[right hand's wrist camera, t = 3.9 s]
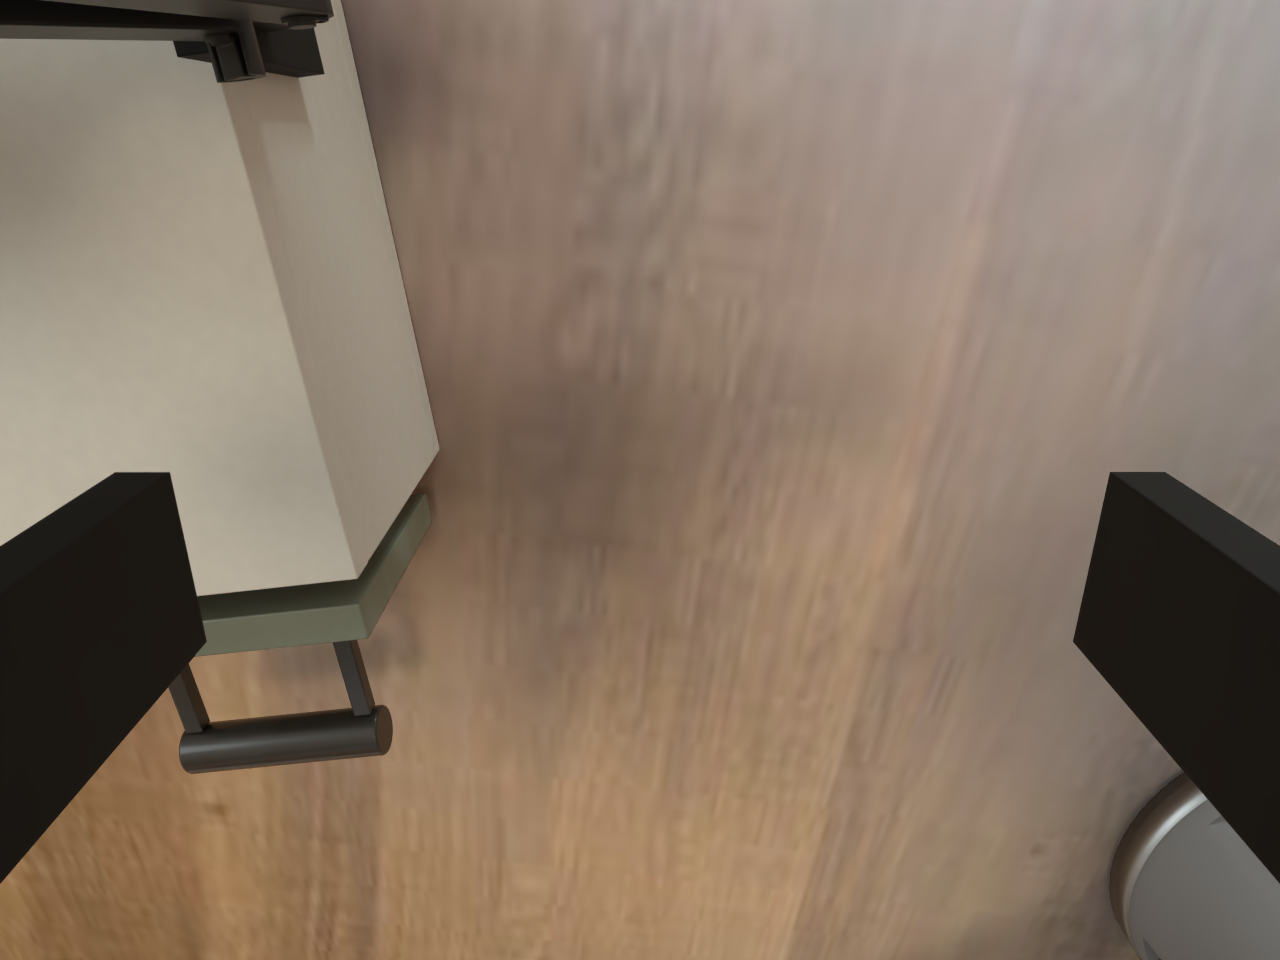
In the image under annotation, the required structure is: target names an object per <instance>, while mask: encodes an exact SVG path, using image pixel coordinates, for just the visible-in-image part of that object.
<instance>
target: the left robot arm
mask: <svg viewBox="0 0 1280 960" xmlns="http://www.w3.org/2000/svg"><path fill="white" fill-rule="evenodd" d="M333 16H334V13H333V8H332V4H331V0H0V39H69V40H144V41H173V43H174V47H175V50H176V54H177V57H180V58H186V59H192V60H197V61H203V62H209V63H212V66H213V69H214V73H215V77H216V80H217V83H227V82H239V81H247V80H254V79H259V78H263V77H266V73H265V72H267V73H273V74H279V75H285V76H290V77H296V78H300V77H308V76H315V75H322V74H325V73H324V69H323V65H322V60H321V56H320V52H319V47H318V43H317V39H316V34H315V30H314V27H317V25H316V24H319V23H325V22H327V21H329V18H332V17H333Z"/></svg>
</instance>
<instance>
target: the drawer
mask: <svg viewBox="0 0 1280 960" xmlns="http://www.w3.org/2000/svg"><path fill="white" fill-rule="evenodd" d="M431 522H432V517H431V513H430V509H429V504H428V500H427V496H426V494H418V495H410V497H409V499H408V500H407V502H406V503H405V505H404V506H403V508H402V509H401V511H400V513H399V514H398V516H397V517H396V519H395V520H394V522H393V523H392V525H391V527H390V528H389V530H388V531H387V533H386V534H385V536H384V537H383V539H382V541H381V542H380V544H379V545H378V547H377V548H376V550H375V551H374V553H373V555H372V556H371V558H370V559H369V560H368V563H367V565H366V566H365V568H364V570H363V571H362V573H361V574H360V576H359V577H358V578H357V579H351V580H342V581H333V582H323V583H314V584H305V585H296V586H286V587H277V588H268V589H259V590H249V591H240V592H231V593H222V594H212V595H203V596H197V598H198V603H199V608H200V612H201V617H202V621H203V626H204V631H205V635H206V640H207V642H206V643H205V644H204V646H203V647H202V648H201V649H200V650H199V651H198V653H197V654H196V655H195V656H194V657H197V656H206V655H216V654H225V653H235V652H244V651H254V650H263V649H273V648H282V647H292V646H301V645H311V644H320V643H330V642H333V645H334V648H335V652H336V655H337V659H338V662H339V665H340V669H341V672H342V675H343V679H344V682H345V686H346V689H347V692H348V696H349V699H350V703H351V706H352V708H346V709H336V710H326V711H317V712H307V713H297V714H287V715H277V716H267V717H257V718H247V719H238V720H228V721H218V722H210V720H209V717H208V714H207V712H206V709H205V706H204V704H203V701H202V698H201V696H200V693H199V690H198V688H197V685H196V682H195V679H194V677H193V674H192V671H191V669H190V666H189V663H188V664H187V666H186V667H185V668H184V669H183V670H182V671H181V673H180V674H179V675H178V676H177V677H176V678H175V680H174V681H173V682H172V683H171V684H170V685H169V690H170V693H171V695H172V698H173V700H174V703H175V705H176V708H177V711H178V713H179V716H180V718H181V721H182V724H183V726H184V729H185V731H184V733H183V735H182V737H181V741H180V746H179V758H180V762H181V765H182V767H183V769H184V770H185V771H186V772H188V773H191V774H196V773H206V772H217V771H227V770H237V769H247V768H257V767H267V766H278V765H288V764H298V763H308V762H318V761H328V760H339V759H349V758H359V757H369V756H379V755H384V754H386V753H387V752H388V751H389V749H390V746H391V742H392V734H393V726H392V719H391V715H390V712H389V709H388V708H387V707H386V706H384V705H376V706H375V702H374V698H373V695H372V691H371V688H370V684H369V681H368V677H367V674H366V670H365V667H364V663H363V660H362V656H361V652H360V649H359V645H358V642H357V640H359V639H367V638H369V636H370V635H371V633H372V631H373V629H374V627H375V625H376V624H377V622H378V620H379V618H380V616H381V614H382V613H383V611H384V609H385V607H386V605H387V603H388V602H389V600H390V598H391V596H392V594H393V592H394V590H395V589H396V587H397V585H398V583H399V581H400V579H401V578H402V576H403V574H404V572H405V570H406V568H407V567H408V565H409V563H410V561H411V559H412V557H413V555H414V554H415V552H416V550H417V548H418V546H419V544H420V543H421V541H422V539H423V537H424V535H425V533H426V532H427V530H428V528H429V526H430V524H431Z"/></svg>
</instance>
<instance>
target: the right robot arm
mask: <svg viewBox="0 0 1280 960" xmlns="http://www.w3.org/2000/svg"><path fill="white" fill-rule="evenodd" d="M206 642H207V640H206V635H205V631H204V626H203V621H202V617H201V612H200V608H199V603H198V598H197V594H196V589H195V585H194V580H193V576H192V571H191V566H190V562H189V557H188V553H187V548H186V543H185V539H184V534H183V530H182V525H181V521H180V516H179V511H178V507H177V502H176V498H175V493H174V488H173V484H172V479H171V475H170V472H114V473H113V474H111V475H110V476H108V477H107V478H105V479H104V480H102V481H101V482H99V483H97V484H96V485H94V486H93V487H91V488H90V489H88V490H87V491H85V492H83V493H82V494H80V495H79V496H77V497H76V498H74V499H73V500H71V501H69V502H68V503H66V504H65V505H63V506H62V507H60V508H59V509H57V510H55V511H54V512H52V513H51V514H49V515H48V516H46V517H45V518H43V519H42V520H40V521H38V522H37V523H35V524H34V525H32V526H31V527H29V528H28V529H26V530H24V531H23V532H21V533H20V534H18V535H17V536H15V537H14V538H12V539H10V540H9V541H7V542H6V543H4V544H3V545H1V546H0V884H1V882H2V881H3V880H4V879H5V878H6V876H7V875H8V874H9V873H10V872H11V871H12V869H13V868H14V867H15V866H16V865H17V864H18V862H19V861H20V860H21V859H22V858H23V857H24V855H25V854H26V853H27V852H28V851H29V850H30V848H31V847H32V846H33V845H34V844H35V842H36V841H37V840H38V839H39V838H40V837H41V835H42V834H43V833H44V832H45V831H46V830H47V828H48V827H49V826H50V825H51V824H52V823H53V821H54V820H55V819H56V818H57V817H58V816H59V814H60V813H61V812H62V811H63V810H64V808H65V807H66V806H67V805H68V804H69V803H70V801H71V800H72V799H73V798H74V797H75V796H76V794H77V793H78V792H79V791H80V790H81V789H82V787H83V786H84V785H85V784H86V783H87V782H88V780H89V779H90V778H91V777H92V776H93V775H94V773H95V772H96V771H97V770H98V769H99V767H100V766H101V765H102V764H103V763H104V762H105V760H106V759H107V758H108V757H109V756H110V755H111V753H112V752H113V751H114V750H115V749H116V748H117V746H118V745H119V744H120V743H121V742H122V741H123V739H124V738H125V737H126V736H127V735H128V733H129V732H130V731H131V730H132V729H133V728H134V726H135V725H136V724H137V723H138V722H139V721H140V719H141V718H142V717H143V716H144V715H145V714H146V712H147V711H148V710H149V709H150V708H151V707H152V705H153V704H154V703H155V702H156V701H157V699H158V698H159V697H160V696H161V695H162V694H163V692H164V691H165V690H166V689H167V688H168V687H169V685H170V684H171V683H172V682H173V681H174V680H175V678H176V677H177V676H178V675H179V674H180V673H181V671H182V670H183V669H184V668H185V667H186V666H187V664H188V663H189V662H190V661H191V660H192V658H193V657H194V656H195V655H196V654H197V653H198V651H199V650H200V649H201V648H202V647H203V646H204V644H205V643H206ZM1073 642H1074V643H1075V644H1076V646H1077V647H1078V648H1079V649H1080V650H1081V651H1082V653H1083V654H1084V655H1085V656H1086V657H1087V658H1088V660H1089V661H1090V662H1091V663H1092V664H1093V666H1094V667H1095V668H1096V669H1097V670H1098V671H1099V673H1100V674H1101V675H1102V676H1103V677H1104V678H1105V680H1106V681H1107V682H1108V683H1109V684H1110V685H1111V687H1112V688H1113V689H1114V690H1115V691H1116V692H1117V694H1118V695H1119V696H1120V697H1121V698H1122V699H1123V701H1124V702H1125V703H1126V704H1127V705H1128V707H1129V708H1130V709H1131V710H1132V711H1133V712H1134V714H1135V715H1136V716H1137V717H1138V718H1139V719H1140V721H1141V722H1142V723H1143V724H1144V725H1145V726H1146V728H1147V729H1148V730H1149V731H1150V732H1151V733H1152V735H1153V736H1154V737H1155V738H1156V739H1157V741H1158V742H1159V743H1160V744H1161V745H1162V746H1163V748H1164V749H1165V750H1166V751H1167V752H1168V753H1169V755H1170V756H1171V757H1172V758H1173V759H1174V760H1175V762H1176V763H1177V764H1178V765H1179V766H1180V767H1181V769H1182V770H1183V771H1184V773H1183V774H1181V775H1180V776H1178V777H1177V778H1176V779H1174V780H1173V781H1172V782H1170V783H1169V784H1168V785H1167V786H1166V787H1164V788H1163V789H1162V790H1161V791H1160V792H1159V793H1157V794H1156V795H1155V796H1154V797H1153V798H1152V799H1151V800H1150V801H1149V802H1148V803H1147V804H1146V806H1145V807H1144V808H1143V809H1142V810H1141V811H1140V812H1139V814H1138V815H1137V816H1136V818H1135V819H1134V820H1133V822H1132V823H1131V824H1130V826H1129V828H1128V829H1127V831H1126V833H1125V834H1124V836H1123V838H1122V840H1121V842H1120V844H1119V846H1118V848H1117V851H1116V854H1115V857H1114V860H1113V864H1112V868H1111V873H1110V885H1109V886H1110V899H1111V904H1112V908H1113V911H1114V914H1115V917H1116V919H1117V921H1118V923H1119V925H1120V927H1121V929H1122V930H1123V932H1124V934H1125V935H1126V937H1127V939H1128V940H1129V942H1130V944H1131V945H1132V947H1133V949H1134V950H1135V952H1136V954H1137V955H1138V957H1139V958H1140V960H1280V546H1279V545H1277V544H1276V543H1274V542H1273V541H1271V540H1270V539H1268V538H1266V537H1265V536H1263V535H1262V534H1260V533H1259V532H1257V531H1256V530H1254V529H1252V528H1251V527H1249V526H1248V525H1246V524H1245V523H1243V522H1242V521H1240V520H1238V519H1237V518H1235V517H1234V516H1232V515H1231V514H1229V513H1228V512H1226V511H1224V510H1223V509H1221V508H1220V507H1218V506H1217V505H1215V504H1214V503H1212V502H1211V501H1209V500H1207V499H1206V498H1204V497H1203V496H1201V495H1200V494H1198V493H1197V492H1195V491H1193V490H1192V489H1190V488H1189V487H1187V486H1186V485H1184V484H1183V483H1181V482H1179V481H1178V480H1176V479H1175V478H1173V477H1172V476H1170V475H1169V474H1167V473H1166V472H1110V475H1109V479H1108V484H1107V488H1106V493H1105V498H1104V502H1103V507H1102V511H1101V516H1100V521H1099V525H1098V530H1097V534H1096V539H1095V543H1094V548H1093V553H1092V557H1091V562H1090V566H1089V571H1088V576H1087V580H1086V585H1085V589H1084V594H1083V598H1082V603H1081V608H1080V612H1079V617H1078V621H1077V626H1076V631H1075V635H1074V640H1073Z"/></svg>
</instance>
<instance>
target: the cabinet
mask: <svg viewBox="0 0 1280 960" xmlns="http://www.w3.org/2000/svg"><path fill="white" fill-rule="evenodd" d="M331 4H332V8H333V13H334V16H333V17H332V18H329V21H327V22H325V23H319V24H316V25H317V27H314V30H315V34H316V39H317V43H318V47H319V52H320V56H321V60H322V65H323V69H324V73H325V74H322V75H315V76H308V77H300V78H296V77H290V76H285V75H279V74H273V73H267V72H265V73H266V77H263V78H259V79H254V80H247V81H239V82H227V83H217V80H216V77H215V73H214V69H213V66H212V63H209V62H203V61H197V60H192V59H186V58H180V57H177V54H176V50H175V47H174V43H173V41H144V40H69V39H0V546H1V545H3V544H4V543H6V542H7V541H9V540H10V539H12V538H14V537H15V536H17V535H18V534H20V533H21V532H23V531H24V530H26V529H28V528H29V527H31V526H32V525H34V524H35V523H37V522H38V521H40V520H42V519H43V518H45V517H46V516H48V515H49V514H51V513H52V512H54V511H55V510H57V509H59V508H60V507H62V506H63V505H65V504H66V503H68V502H69V501H71V500H73V499H74V498H76V497H77V496H79V495H80V494H82V493H83V492H85V491H87V490H88V489H90V488H91V487H93V486H94V485H96V484H97V483H99V482H101V481H102V480H104V479H105V478H107V477H108V476H110V475H111V474H113V473H114V472H170V475H171V479H172V484H173V488H174V493H175V498H176V502H177V507H178V511H179V516H180V521H181V525H182V530H183V534H184V539H185V543H186V548H187V553H188V557H189V562H190V566H191V571H192V576H193V580H194V585H195V589H196V594H197V596H203V595H212V594H222V593H231V592H240V591H249V590H259V589H268V588H277V587H286V586H296V585H305V584H314V583H323V582H333V581H342V580H351V579H357V578H358V577H359V576H360V574H361V573H362V571H363V570H364V568H365V566H366V565H367V563H368V560H369V559H370V558H371V556H372V555H373V553H374V551H375V550H376V548H377V547H378V545H379V544H380V542H381V541H382V539H383V537H384V536H385V534H386V533H387V531H388V530H389V528H390V527H391V525H392V523H393V522H394V520H395V519H396V517H397V516H398V514H399V513H400V511H401V509H402V508H403V506H404V505H405V503H406V502H407V500H408V499H409V497H410V495H411V494H412V492H413V491H414V489H415V488H416V486H417V484H418V483H419V481H420V480H421V478H422V477H423V475H424V474H425V472H426V470H427V469H428V467H429V466H430V464H431V463H432V461H433V459H434V458H435V456H436V455H437V453H438V452H439V449H440V448H439V444H438V439H437V435H436V430H435V426H434V421H433V417H432V412H431V408H430V403H429V398H428V394H427V389H426V385H425V380H424V376H423V371H422V367H421V362H420V358H419V353H418V348H417V344H416V339H415V335H414V330H413V326H412V321H411V317H410V312H409V308H408V303H407V299H406V294H405V289H404V285H403V280H402V276H401V271H400V267H399V262H398V258H397V253H396V249H395V244H394V240H393V235H392V230H391V226H390V221H389V217H388V212H387V208H386V203H385V199H384V194H383V190H382V185H381V181H380V176H379V171H378V167H377V162H376V158H375V153H374V149H373V144H372V140H371V135H370V131H369V126H368V122H367V117H366V112H365V108H364V103H363V99H362V94H361V90H360V85H359V81H358V76H357V72H356V67H355V63H354V58H353V53H352V49H351V44H350V40H349V35H348V31H347V26H346V22H345V17H344V13H343V8H342V4H341V0H331Z"/></svg>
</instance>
